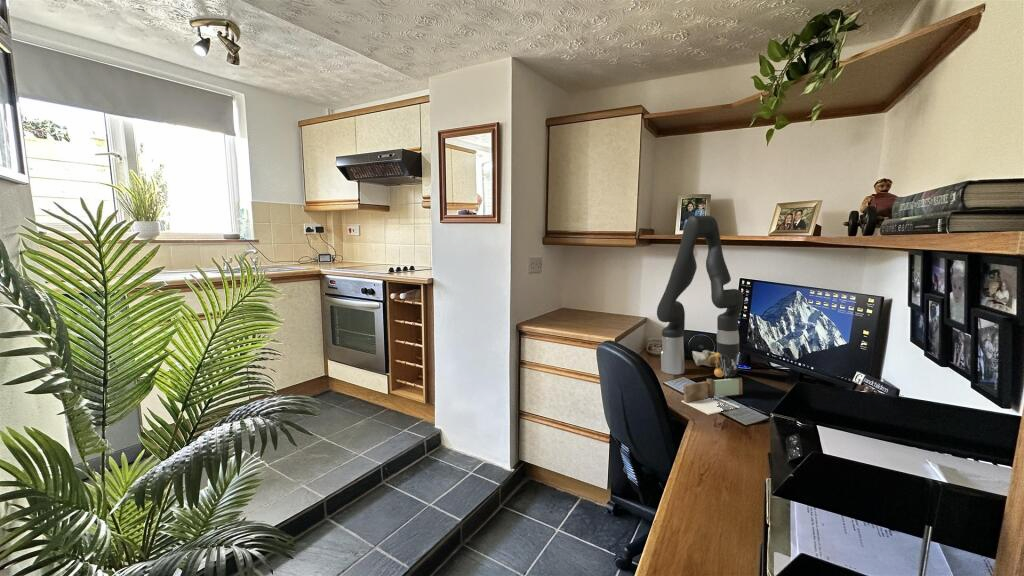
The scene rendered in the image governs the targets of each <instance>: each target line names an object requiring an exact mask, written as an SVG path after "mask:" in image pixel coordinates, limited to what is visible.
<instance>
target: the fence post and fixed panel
mask: <svg viewBox="0 0 1024 576" xmlns="http://www.w3.org/2000/svg"><path fill="white" fill-rule="evenodd" d="M714 380H715V379H713V378H706V381H700V382H694V383H689V384H684V385H683V400H684V402H686V403H688V402H693V401H698V400H703V399H708V398H711V399H712V398H714Z"/></svg>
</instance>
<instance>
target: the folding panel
mask: <svg viewBox="0 0 1024 576" xmlns="http://www.w3.org/2000/svg"><path fill="white" fill-rule="evenodd" d="M713 380H714V396H715V397H717V398H718V397H725V396H726V397H728V396H737V395H743V393H744V392H743V378H742V377H735V378H733V377H732V379H724V378H723V379H713Z"/></svg>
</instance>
